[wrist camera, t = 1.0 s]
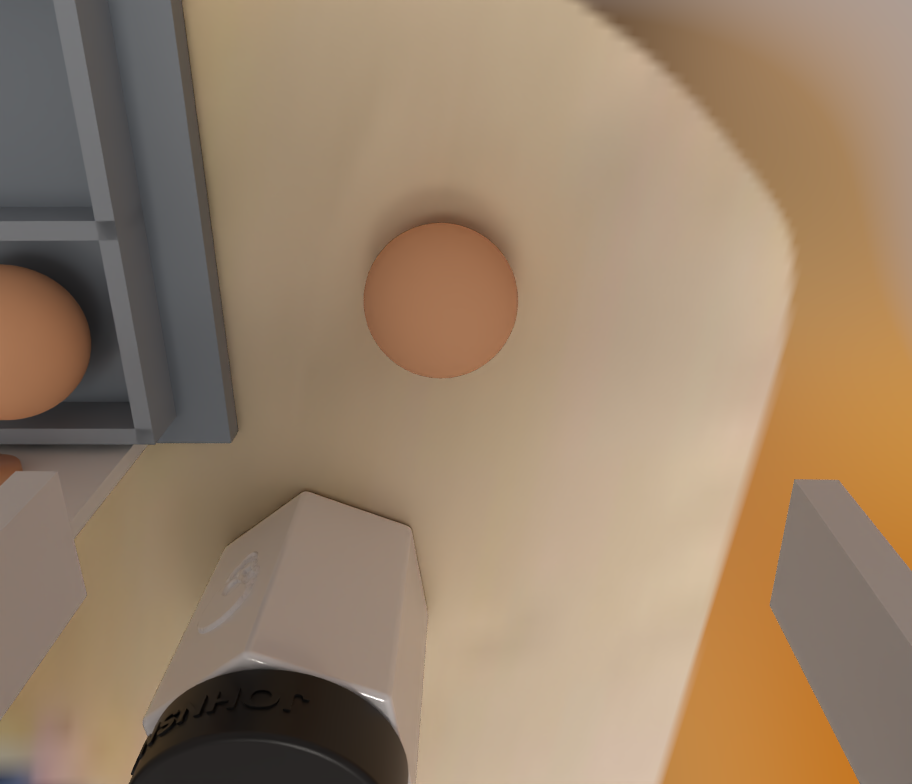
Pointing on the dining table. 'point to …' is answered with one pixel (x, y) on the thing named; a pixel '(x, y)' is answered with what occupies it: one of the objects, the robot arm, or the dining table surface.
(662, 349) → the dining table surface
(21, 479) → the robot arm
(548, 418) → the dining table surface
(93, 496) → the rack
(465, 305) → the ball
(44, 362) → the terracotta ball
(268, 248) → the dining table surface
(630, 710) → the dining table surface
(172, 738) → the jar
